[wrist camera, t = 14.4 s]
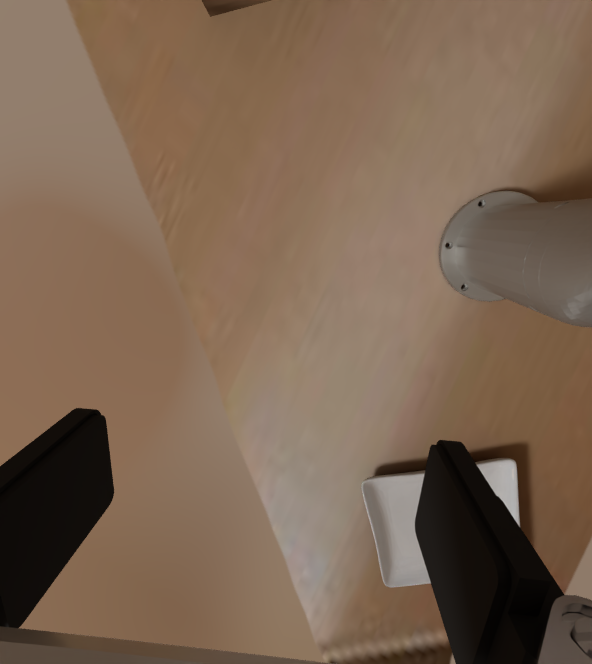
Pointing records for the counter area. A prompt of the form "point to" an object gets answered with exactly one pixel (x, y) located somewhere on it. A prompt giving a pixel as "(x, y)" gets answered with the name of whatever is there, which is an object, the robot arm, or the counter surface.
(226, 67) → the counter surface
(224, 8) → the walnut block
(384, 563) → the salad plate
